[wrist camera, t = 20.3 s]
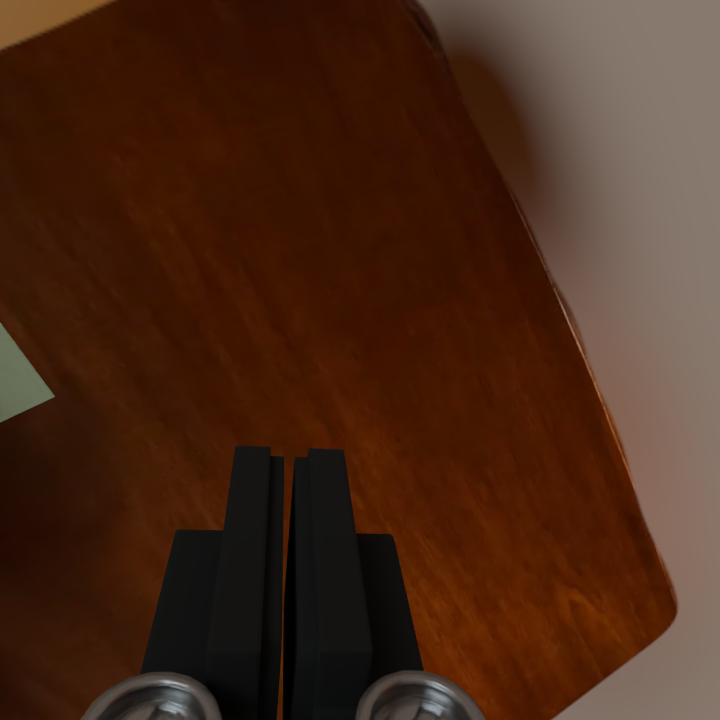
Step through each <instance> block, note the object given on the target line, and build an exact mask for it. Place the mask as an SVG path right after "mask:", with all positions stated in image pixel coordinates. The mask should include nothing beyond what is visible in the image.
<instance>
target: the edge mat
mask: <svg viewBox="0 0 720 720" xmlns="http://www.w3.org/2000/svg"><path fill="white" fill-rule="evenodd" d="M54 397H55V396H54V394H53V393H52V392H51V390H50V389H49V388H48V386H47V385H46V383H45V382H44V381H43V379H42V378H41V377H40V375H39V374H38V373H37V371H36V370H35V369H34V367H33V366H32V365H31V363H30V362H29V360H28V359H27V358H26V356H25V355H24V354H23V352H22V351H21V350H20V348H19V347H18V346H17V344H16V343H15V341H14V340H13V339H12V337H11V336H10V335H9V333H8V332H7V331H6V329H5V328H4V327H3V325H2V324H1V322H0V422H2V421H4V420H7V419H9V418H11V417H13V416H15V415H17V414H19V413H22V412H24V411H26V410H28V409H30V408H32V407H34V406H37V405H39V404H41V403H43V402H45V401H47V400H49V399H52V398H54Z"/></svg>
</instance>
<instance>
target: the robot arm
mask: <svg viewBox="0 0 720 720" xmlns="http://www.w3.org/2000/svg"><path fill="white" fill-rule="evenodd" d="M270 451H271V447H259V446H236V447H235V453H234V460H233V467H232V474H231V481H230V488H229V495H228V502H227V509H226V516H225V523H224V530H223V531H218V530H177V531H176V534H175V537H174V540H173V544H172V548H171V552H170V556H169V560H168V564H167V568H166V572H165V576H164V581H163V585H162V589H161V593H160V597H159V601H158V605H157V609H156V613H155V617H154V621H153V625H152V629H151V633H150V637H149V641H148V645H147V649H146V653H145V657H144V661H143V665H142V669H141V673H140V675H137V676H133V677H130V678H128V679H126V680H124V681H122V682H120V683H118V684H116V685H114V686H112V687H110V688H109V689H108V690H107V691H105V692H104V693H103V694H102V695H101V696H100V697H98V698H97V699H96V700H95V701H94V702H93V703H92V704H91V705H90V707H89V708H88V710H87V711H86V713H85V714H84V716H83V717H82V718H81V720H276V718H277V704H278V691H279V678H280V663H281V641H282V578H283V500H284V457H279V456H270ZM283 720H485V718H484V716H483V714H482V713H481V711H480V710H479V708H478V706H477V705H476V703H475V702H474V700H473V699H472V698H471V697H470V696H469V695H468V694H467V693H466V692H465V691H463V690H462V689H461V688H460V687H459V686H458V685H457V684H455V683H453V682H451V681H449V680H447V679H445V678H444V677H442V676H440V675H436V674H432V673H428V672H425V671H424V670H423V666H422V661H421V657H420V652H419V648H418V643H417V639H416V635H415V630H414V626H413V621H412V617H411V612H410V608H409V603H408V599H407V595H406V590H405V586H404V581H403V577H402V572H401V568H400V564H399V559H398V555H397V550H396V546H395V542H394V539H393V536H392V535H391V534H356V530H355V523H354V517H353V510H352V503H351V496H350V489H349V482H348V475H347V469H346V462H345V455H344V450H338V449H312V448H309V450H308V458H307V457H295V461H294V473H293V486H292V500H291V513H290V527H289V540H288V554H287V567H286V580H285V594H284V633H283Z"/></svg>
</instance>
